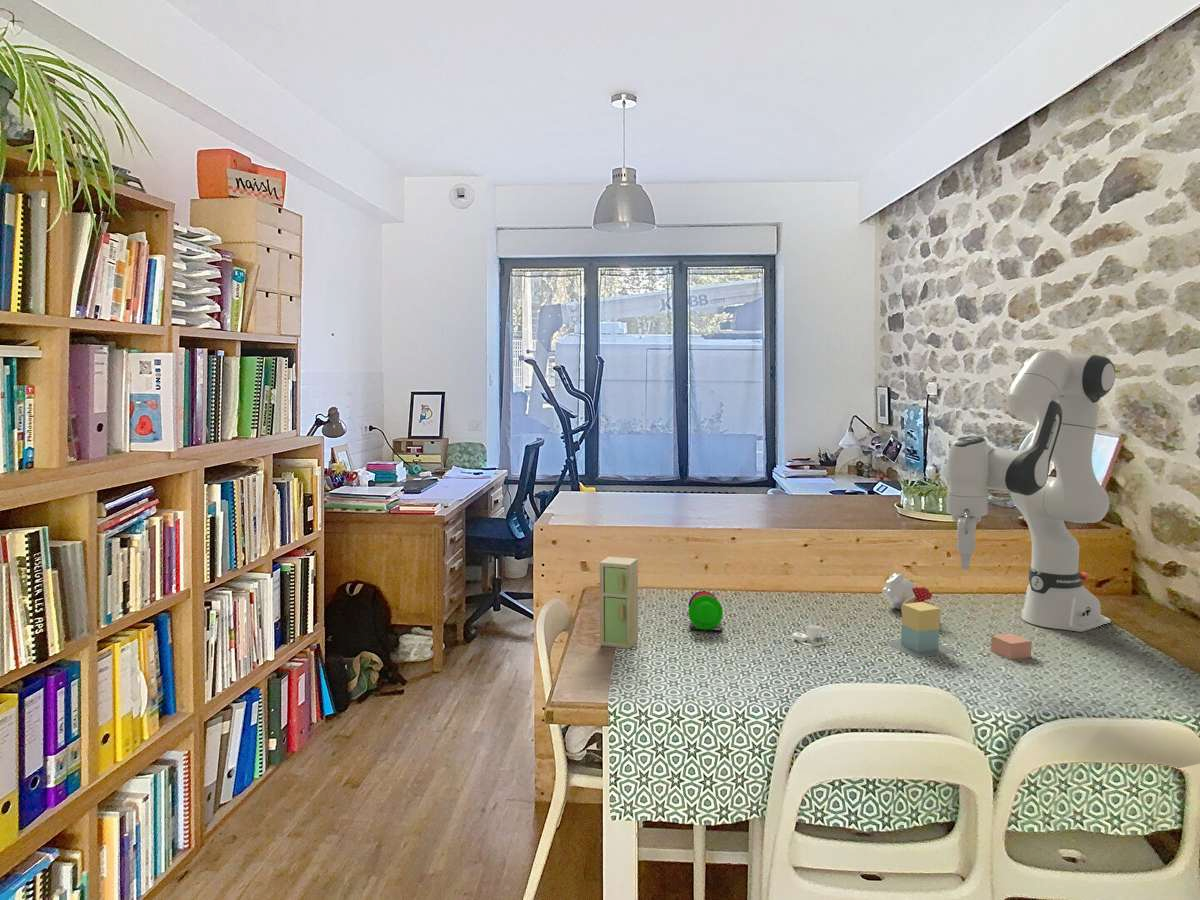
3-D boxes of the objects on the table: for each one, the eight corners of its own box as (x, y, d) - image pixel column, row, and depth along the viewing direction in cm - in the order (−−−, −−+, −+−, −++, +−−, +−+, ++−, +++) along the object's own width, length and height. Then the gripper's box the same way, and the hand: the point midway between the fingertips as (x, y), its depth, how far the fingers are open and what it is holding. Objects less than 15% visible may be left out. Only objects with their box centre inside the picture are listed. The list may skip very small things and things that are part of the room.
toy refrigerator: (598, 646, 204) (598, 562, 202) (608, 637, 211) (608, 556, 209) (629, 650, 201) (629, 565, 199) (638, 641, 208) (638, 558, 206)
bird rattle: (913, 637, 218) (947, 625, 217) (897, 598, 217) (930, 586, 216) (907, 630, 224) (939, 618, 223) (891, 592, 224) (924, 580, 222)
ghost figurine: (887, 602, 243) (888, 568, 242) (921, 607, 238) (922, 573, 237) (877, 609, 236) (879, 574, 235) (912, 615, 230) (913, 579, 229)
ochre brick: (921, 621, 204) (922, 601, 204) (939, 629, 198) (940, 608, 198) (901, 624, 202) (902, 604, 202) (918, 631, 196) (919, 611, 196)
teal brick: (920, 641, 205) (921, 621, 204) (938, 649, 199) (939, 629, 198) (900, 644, 202) (901, 624, 202) (918, 652, 197) (918, 631, 196)
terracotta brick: (1010, 653, 200) (1011, 633, 200) (1030, 661, 194) (1031, 641, 194) (990, 656, 198) (991, 635, 198) (1010, 664, 193) (1011, 643, 192)
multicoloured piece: (688, 626, 228) (689, 634, 213) (684, 591, 229) (686, 596, 214) (721, 623, 227) (725, 631, 213) (718, 588, 228) (721, 593, 213)
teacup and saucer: (788, 642, 209) (788, 626, 209) (804, 634, 215) (804, 619, 214) (820, 650, 203) (820, 634, 203) (835, 642, 209) (836, 626, 209)
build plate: (921, 641, 208) (922, 636, 208) (957, 657, 197) (957, 652, 197) (882, 646, 204) (882, 642, 204) (916, 663, 193) (916, 658, 193)
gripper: (982, 515, 185) (980, 576, 186) (981, 499, 203) (979, 555, 205) (951, 513, 187) (950, 573, 189) (953, 498, 206) (952, 553, 207)
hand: (965, 564), depth 197 cm, fingers open, 8 cm apart
